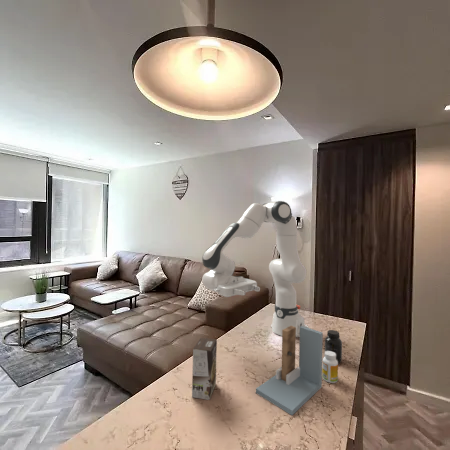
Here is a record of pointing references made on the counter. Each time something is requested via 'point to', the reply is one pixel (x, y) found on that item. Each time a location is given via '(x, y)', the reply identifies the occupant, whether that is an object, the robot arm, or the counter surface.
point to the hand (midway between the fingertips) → (251, 291)
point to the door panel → (288, 350)
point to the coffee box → (204, 368)
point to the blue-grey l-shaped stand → (297, 375)
